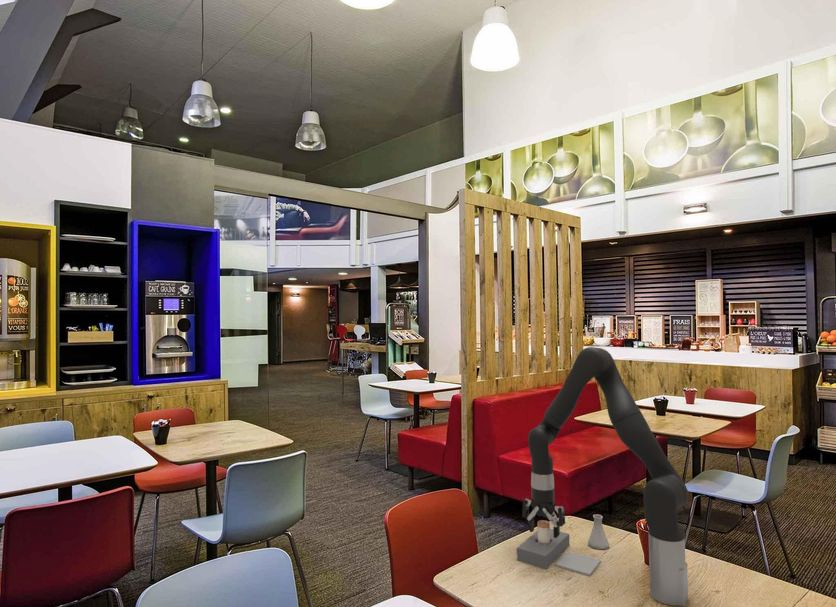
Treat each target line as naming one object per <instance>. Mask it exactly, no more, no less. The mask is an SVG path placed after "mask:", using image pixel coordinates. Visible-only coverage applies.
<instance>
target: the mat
mask: <svg viewBox="0 0 836 607" xmlns="http://www.w3.org/2000/svg"><path fill="white" fill-rule="evenodd" d="M601 563H602V560H601V559H599V558H596V557H591V556H588V555H583V554H580V553H576V552H573V551H569V550H567V551H566V552H565V553H564V554H563V556H561V557H560V558H559V559H558V560H557V561H556V562H555V563H554V566H555V567H558V568H560V569H564V570H568V571H569V572H570V571H571V572H575V573H577V574H581V575H585V576H588V577H590V576H591V575H593V573H594V572H595V570H596V569H597V568H598V567H599V565H600V564H601Z"/></svg>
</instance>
